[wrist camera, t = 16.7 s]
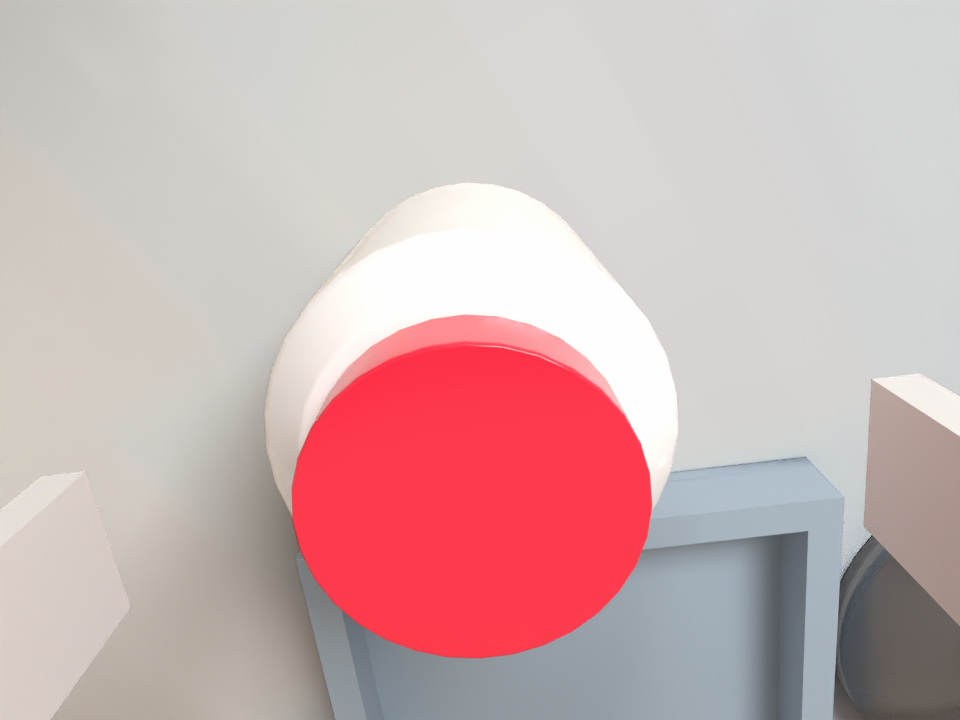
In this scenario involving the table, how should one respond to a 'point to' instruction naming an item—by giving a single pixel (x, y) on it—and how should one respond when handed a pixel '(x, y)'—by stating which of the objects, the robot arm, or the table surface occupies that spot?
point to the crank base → (895, 643)
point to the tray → (646, 622)
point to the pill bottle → (471, 426)
